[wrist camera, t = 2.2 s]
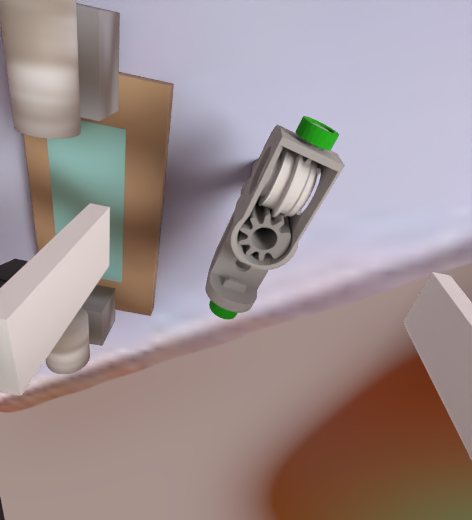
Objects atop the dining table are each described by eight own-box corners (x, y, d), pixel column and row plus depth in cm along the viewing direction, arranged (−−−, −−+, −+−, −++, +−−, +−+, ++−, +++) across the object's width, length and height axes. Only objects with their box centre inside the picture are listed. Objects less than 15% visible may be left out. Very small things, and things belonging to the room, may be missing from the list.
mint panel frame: (15, -23, 19) (-93, -47, 14) (179, 15, 20) (145, 8, 14) (50, 302, 32) (2, 364, 26) (152, 320, 32) (128, 385, 26)
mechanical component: (215, 223, 27) (194, 311, 18) (277, 82, 21) (289, 114, 13) (251, 238, 27) (247, 330, 19) (321, 103, 22) (359, 148, 13)
